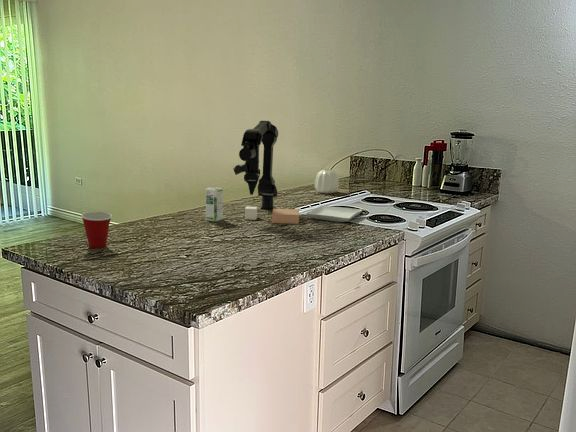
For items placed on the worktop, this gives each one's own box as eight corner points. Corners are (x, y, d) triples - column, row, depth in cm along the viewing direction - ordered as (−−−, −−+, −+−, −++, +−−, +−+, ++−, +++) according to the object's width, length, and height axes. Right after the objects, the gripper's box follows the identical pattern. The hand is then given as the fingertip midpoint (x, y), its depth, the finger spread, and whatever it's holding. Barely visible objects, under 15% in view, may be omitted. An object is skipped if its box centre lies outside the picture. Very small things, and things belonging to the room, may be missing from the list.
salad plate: (304, 219, 264) (305, 212, 263) (321, 211, 283) (321, 204, 282) (348, 225, 256) (349, 217, 255) (362, 216, 275) (363, 209, 274)
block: (246, 217, 265) (246, 206, 264) (256, 217, 265) (257, 206, 264) (245, 219, 260) (245, 208, 259) (255, 219, 260) (256, 209, 259)
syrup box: (205, 220, 256) (204, 188, 253) (212, 217, 261) (212, 186, 258) (215, 222, 253) (215, 189, 250) (223, 219, 258) (223, 187, 255)
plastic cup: (98, 252, 203) (97, 218, 200) (75, 247, 208) (74, 215, 205) (119, 245, 213) (118, 213, 210) (97, 241, 217) (96, 210, 215)
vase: (339, 195, 327) (340, 171, 324) (314, 194, 327) (315, 171, 324) (337, 190, 341) (338, 168, 338) (313, 190, 341) (314, 167, 338)
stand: (273, 216, 266) (273, 208, 265) (299, 217, 266) (299, 209, 265) (271, 222, 255) (272, 214, 254) (298, 223, 254) (299, 214, 253)
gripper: (236, 155, 266) (236, 188, 269) (232, 160, 247) (232, 196, 251) (260, 156, 266) (260, 189, 269) (258, 161, 247) (257, 196, 251)
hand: (252, 192), depth 260 cm, fingers open, 9 cm apart
